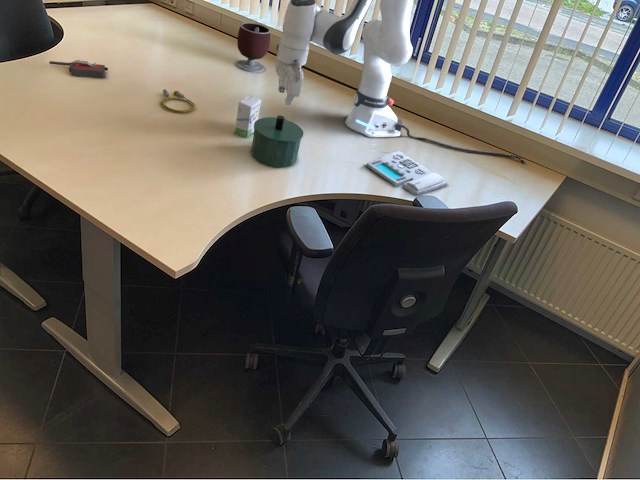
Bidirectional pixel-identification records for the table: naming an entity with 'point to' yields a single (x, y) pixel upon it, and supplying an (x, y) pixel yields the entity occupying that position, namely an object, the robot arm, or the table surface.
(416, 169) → the office telephone
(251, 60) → the mate gourd
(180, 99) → the extension cord
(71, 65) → the walkie-talkie
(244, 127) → the ink box
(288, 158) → the tin
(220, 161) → the table surface
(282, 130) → the tin lid
